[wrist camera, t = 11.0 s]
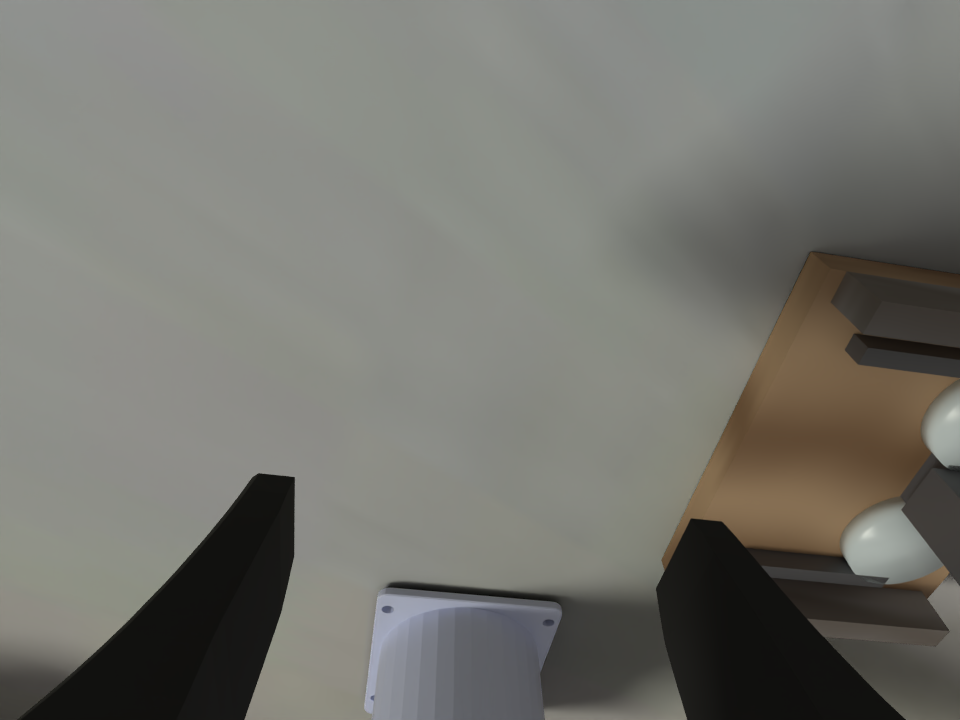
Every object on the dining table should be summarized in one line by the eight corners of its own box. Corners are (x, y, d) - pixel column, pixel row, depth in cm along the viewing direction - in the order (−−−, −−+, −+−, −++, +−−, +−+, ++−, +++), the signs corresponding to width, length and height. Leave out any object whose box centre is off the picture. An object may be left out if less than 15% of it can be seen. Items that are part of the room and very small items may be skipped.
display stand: (902, 583, 27) (946, 647, 25) (661, 560, 26) (682, 624, 24) (1135, 301, 20) (1231, 352, 17) (810, 251, 19) (864, 298, 16)
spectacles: (912, 574, 25) (996, 693, 21) (727, 557, 24) (779, 676, 20) (1083, 365, 20) (1241, 471, 16) (853, 333, 19) (958, 437, 15)
